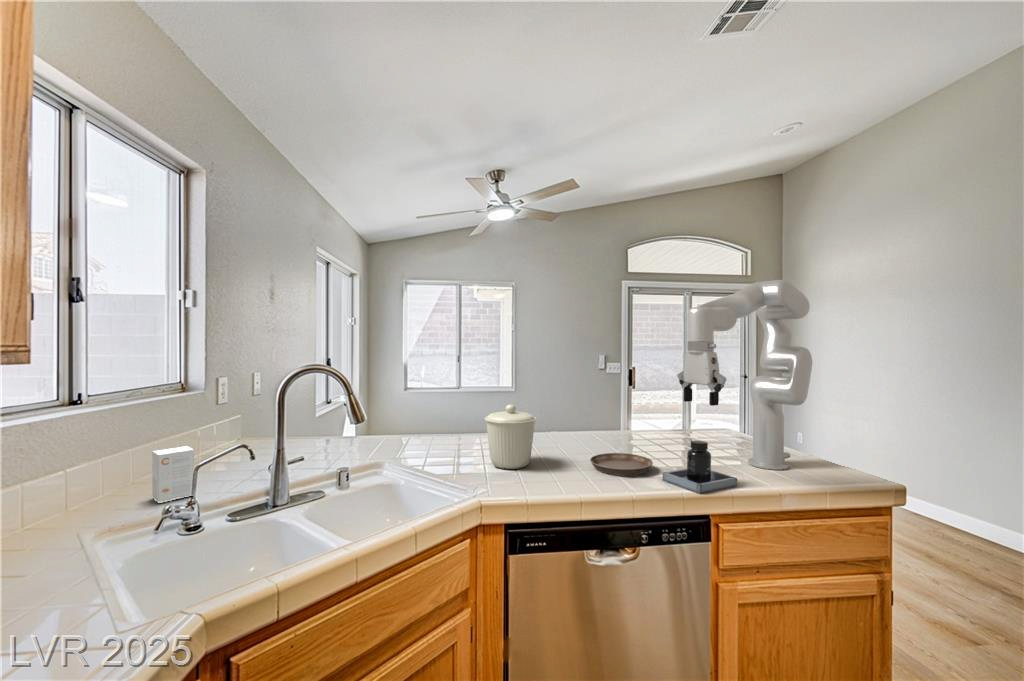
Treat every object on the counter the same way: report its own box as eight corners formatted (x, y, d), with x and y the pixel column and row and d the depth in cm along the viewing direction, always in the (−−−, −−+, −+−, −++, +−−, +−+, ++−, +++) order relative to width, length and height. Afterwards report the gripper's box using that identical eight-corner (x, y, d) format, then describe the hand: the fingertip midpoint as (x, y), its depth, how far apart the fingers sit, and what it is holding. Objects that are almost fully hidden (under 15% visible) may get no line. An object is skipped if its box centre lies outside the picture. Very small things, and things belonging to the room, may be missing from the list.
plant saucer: (589, 476, 146) (589, 466, 146) (590, 460, 167) (590, 451, 167) (656, 480, 143) (656, 470, 143) (648, 463, 163) (648, 454, 163)
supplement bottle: (713, 485, 136) (713, 444, 136) (689, 483, 137) (689, 443, 137) (707, 478, 142) (708, 440, 142) (684, 477, 144) (685, 439, 144)
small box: (187, 491, 128) (187, 445, 128) (194, 496, 124) (194, 449, 124) (151, 499, 122) (151, 450, 122) (157, 504, 118) (158, 454, 118)
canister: (545, 463, 161) (546, 403, 161) (518, 476, 146) (519, 410, 146) (503, 456, 171) (503, 400, 171) (473, 467, 155) (474, 405, 155)
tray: (698, 474, 149) (698, 466, 149) (737, 486, 137) (737, 478, 137) (662, 480, 142) (662, 472, 142) (699, 494, 129) (699, 485, 129)
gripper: (733, 347, 134) (733, 406, 134) (686, 347, 149) (686, 399, 149) (716, 348, 131) (716, 407, 131) (670, 347, 146) (670, 400, 146)
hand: (700, 403), depth 140 cm, fingers open, 9 cm apart
